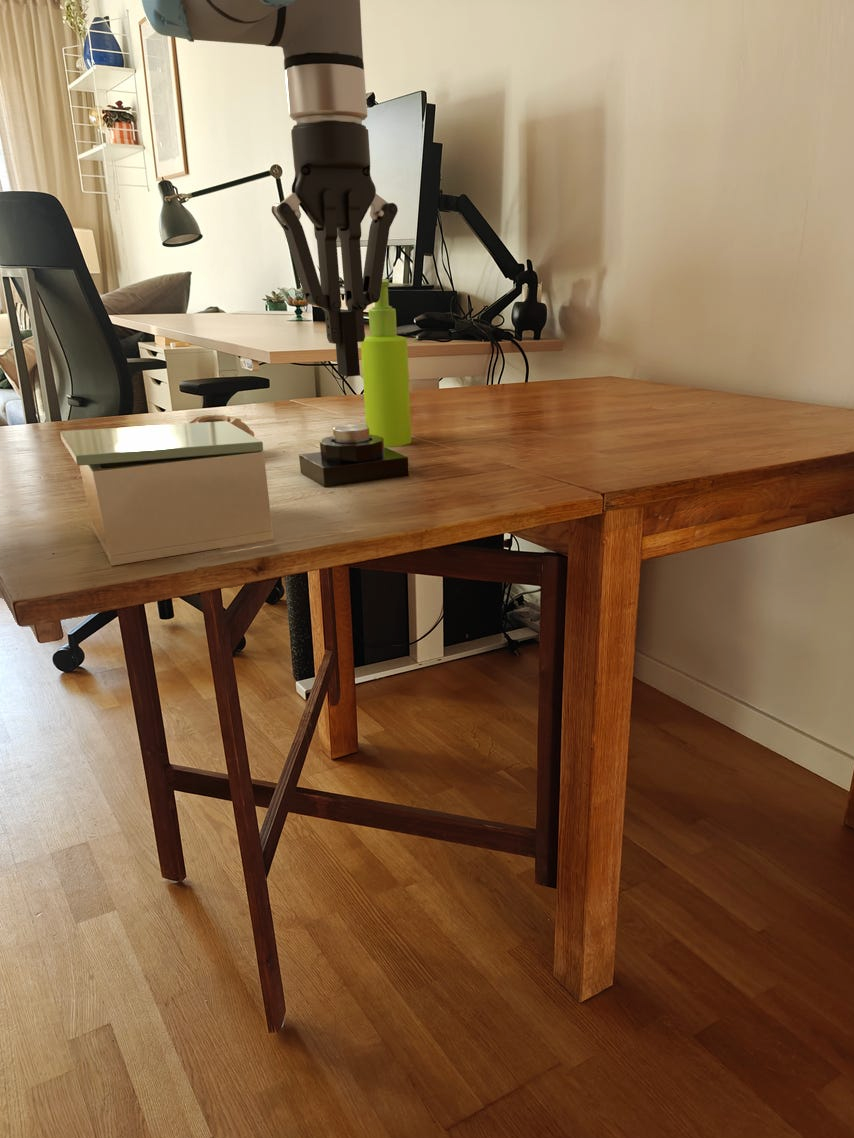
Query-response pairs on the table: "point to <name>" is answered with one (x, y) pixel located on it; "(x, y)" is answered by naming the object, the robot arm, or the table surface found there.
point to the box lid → (157, 442)
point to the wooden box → (177, 505)
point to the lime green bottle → (386, 375)
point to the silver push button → (351, 434)
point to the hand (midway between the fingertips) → (349, 374)
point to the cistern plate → (352, 463)
